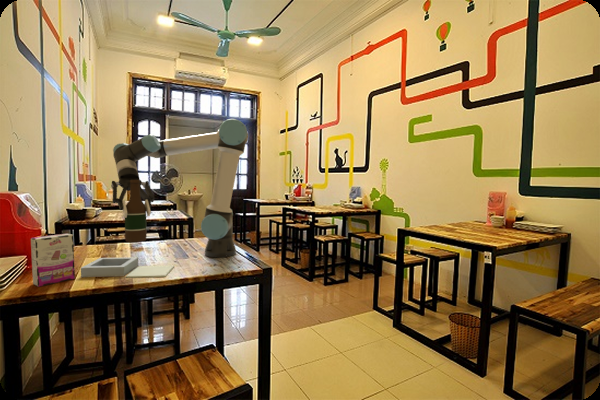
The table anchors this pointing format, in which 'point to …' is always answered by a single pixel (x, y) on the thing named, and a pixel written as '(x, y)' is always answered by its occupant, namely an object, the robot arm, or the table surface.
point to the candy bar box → (52, 259)
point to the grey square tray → (109, 267)
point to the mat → (150, 271)
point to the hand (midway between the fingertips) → (137, 214)
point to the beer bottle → (135, 215)
